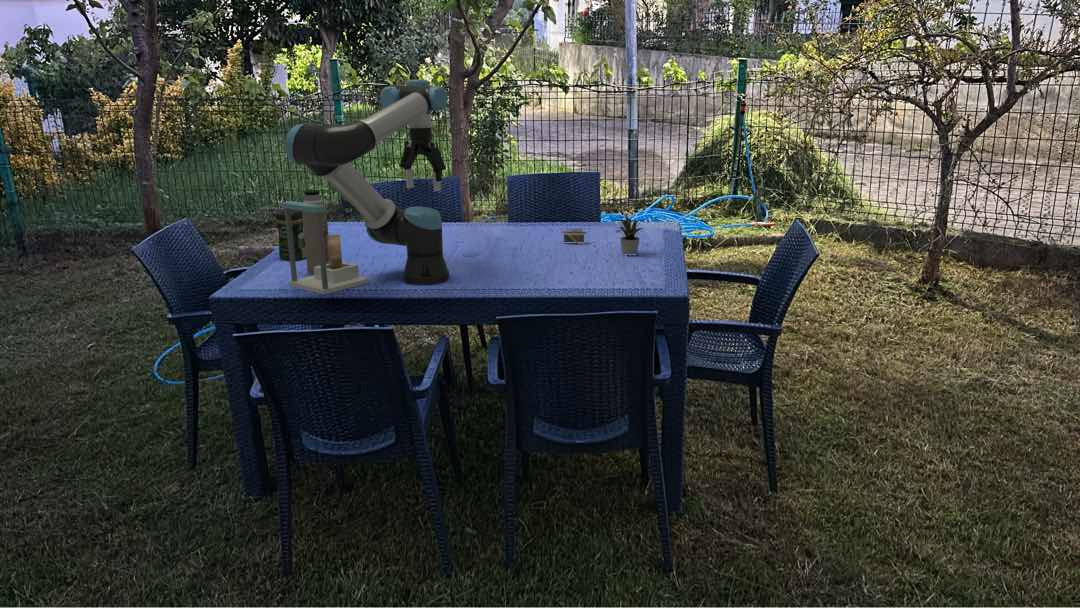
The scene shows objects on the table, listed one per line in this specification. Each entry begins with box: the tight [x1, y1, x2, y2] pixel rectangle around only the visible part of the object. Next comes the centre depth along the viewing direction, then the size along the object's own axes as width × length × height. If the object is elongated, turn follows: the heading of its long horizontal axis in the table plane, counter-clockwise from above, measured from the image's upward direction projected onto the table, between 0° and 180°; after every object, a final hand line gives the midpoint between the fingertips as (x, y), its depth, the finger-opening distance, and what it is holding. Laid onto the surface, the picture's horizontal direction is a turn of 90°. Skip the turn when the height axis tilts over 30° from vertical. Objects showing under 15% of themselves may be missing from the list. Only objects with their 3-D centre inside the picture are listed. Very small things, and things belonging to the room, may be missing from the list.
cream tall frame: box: [280, 200, 370, 295], centre depth 248 cm, size 18×18×27 cm
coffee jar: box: [275, 208, 306, 261], centre depth 286 cm, size 10×8×19 cm
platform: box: [561, 227, 587, 243], centre depth 307 cm, size 12×18×7 cm, turn 82°
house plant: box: [612, 212, 648, 255], centre depth 285 cm, size 14×14×16 cm
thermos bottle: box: [302, 190, 330, 276], centre depth 263 cm, size 8×8×28 cm
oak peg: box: [327, 234, 343, 270], centre depth 251 cm, size 4×4×14 cm
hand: (423, 189), depth 269 cm, fingers open, 13 cm apart
